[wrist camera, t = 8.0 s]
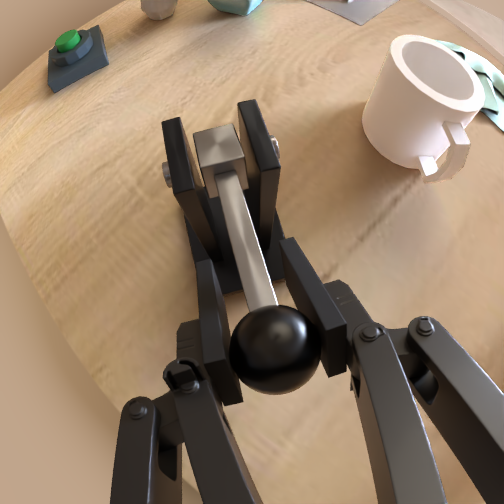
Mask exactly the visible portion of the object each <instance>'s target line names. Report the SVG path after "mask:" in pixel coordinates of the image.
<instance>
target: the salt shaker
mask: <svg viewBox="0 0 504 504" xmlns="http://www.w3.org/2000/svg"><path fill="white" fill-rule="evenodd" d="M176 5H177V0H141V9H142V11H143V12H144V13H146V14H147V15H148V16H149V17H150V18H151V20H162V19H164V18H167V17H169V16H171V15H172V14H173V12H174V10H175V7H176Z"/></svg>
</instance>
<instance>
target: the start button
mask: <svg viewBox="0 0 504 504" xmlns="http://www.w3.org/2000/svg"><path fill="white" fill-rule="evenodd" d="M80 41H81V38H80V36H79V34H78V32H77V30H70V31H68V32H65V33H64V34H62V35H61V36H60V37H59V38H58V39H57V40H56V42H55V45H56V47H57V48H58V50H59V52H60V53H65V52H67V51H69V50H71V49H73V48H74V47H75V46H76V45H78V44H79V43H80Z"/></svg>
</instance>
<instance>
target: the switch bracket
mask: <svg viewBox="0 0 504 504" xmlns="http://www.w3.org/2000/svg"><path fill="white" fill-rule="evenodd" d="M237 106H238V119H239V131H240V143H241V147H242V150H243V152H244V155H245V160H246V167H247V175H248V182H249V188H248V189H245V190H242V191H243V194H244V197H245V201H246V204H247V207H248V210H249V213H250V216H251V220H252V223H253V226H254V229H255V232H256V235H257V239H258V242H259V245H260V248H261V251H262V255H263V258H264V261H265V264H266V267H267V271H268V274H269V277H270V280H271V283H276V282H280V281H283V280H285V274H284V269H283V263H282V257H281V252H280V246H279V240H283V239H285V236H284V233H283V230H282V227H281V223H280V220H279V217H278V214H277V211H276V208H275V206H276V199H277V191H278V184H279V177H280V169H281V165H280V163H279V158H280V154H279V147H278V144H277V141H276V138H275V137H274V136H273V135H271V136H270V135H269V133H268V130H267V127H266V125H265V122H264V120H263V117H262V114H261V112H260V109H259V107H258V104H257V102H256V100H255V99H253V100H248V101H243V102H239V103H238V104H237ZM162 130H163V136H164V143H165V149H166V155H167V162H163V163H162V169H163V174H164V178H165V181H166V184H167V186H168V187H169V188H171V187H172V189H173V194H174V196H175V198H176V199H177V201H178V203H179V205H180V207H181V208H182V210H183V212H184V217H185V222H186V227H187V231H188V236H189V241H190V245H191V250H192V254H193V259H194V263H195V267H196V262H200V261H204V260H208V259H211V260H212V264H213V267H214V270H215V273H216V276H217V280H218V283H219V286H220V289H221V292H222V295H223V297H224V296H228V295H231V294H235V293H239V292H243V291H244V290H243V287H242V283H241V279H240V275H239V272H238V268H237V264H236V260H235V256H234V253H233V249H232V245H231V241H230V237H229V233H228V230H227V226H226V222H225V218H224V214H223V210H222V206H221V202H220V198H219V196H217V197H213V198H209V197H208V194H207V191H206V188H205V187H203V185H202V182H201V179H200V176H199V173H198V170H197V167H196V164H195V161H194V158H193V155H192V152H191V149H190V146H189V143H188V140H187V137H186V134H185V131H184V128H183V125H182V122H181V119H180V117H177V118H173V119H170V120H166V121H163V122H162ZM196 272H197V271H196Z"/></svg>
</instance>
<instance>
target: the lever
mask: <svg viewBox="0 0 504 504" xmlns="http://www.w3.org/2000/svg"><path fill="white" fill-rule="evenodd" d="M193 138H194V143H195V148H196V153H197V158H198V162H199V167H200V171H201V174H202V178H203V181H204V184H205V188H206V191H207V194H208V197H209V198H213V197H217V196H219V198H220V202H221V206H222V210H223V214H224V218H225V222H226V226H227V230H228V233H229V237H230V241H231V245H232V249H233V253H234V256H235V260H236V264H237V268H238V272H239V275H240V279H241V283H242V287H243V290H244V294H245V298H246V301H247V305H248V309H249V313H248V314H247V315H246V316H244V317H243V318H242V319H241V320H240V321H239V323H238V324H237V326H236V327H235V329H234V331H233V333H232V336H231V340H230V344H229V356H230V361H231V364H232V367H233V369H234V371H235V373H236V375H237V376H238V378H239V379H240V380H241V381H242V382H243V383H244V384H245V385H247V386H248V387H249V388H251V389H253V390H255V391H257V392H260V393H263V394H269V395H281V394H286V393H289V392H292V391H295V390H297V389H299V388H300V387H302V386H303V385H304V384H306V383H307V382H308V381H309V380H310V378H311V377H312V376H313V375H314V373H315V371H316V369H317V367H318V365H319V362H320V358H321V341H320V337H319V334H318V331H317V329H316V327H315V326H314V324H313V323H312V322H311V320H310V319H309V318H308V317H307V316H306V315H304V314H303V313H302V312H300V311H298V310H297V309H294V308H292V307H288V306H284V305H278V303H277V300H276V296H275V293H274V290H273V287H272V283H271V280H270V277H269V274H268V271H267V267H266V264H265V261H264V258H263V255H262V251H261V248H260V245H259V242H258V239H257V235H256V232H255V229H254V226H253V223H252V220H251V216H250V213H249V210H248V207H247V204H246V201H245V197H244V194H243V191H242V190H245V189H248V188H249V182H248V175H247V167H246V160H245V155H244V152H243V150H242V147H241V144H240V141H239V139H238V136H237V133H236V130H235V128H234V125H233V124H228V125H224V126H219V127H215V128H211V129H207V130H203V131H199V132H196V133H193Z"/></svg>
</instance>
